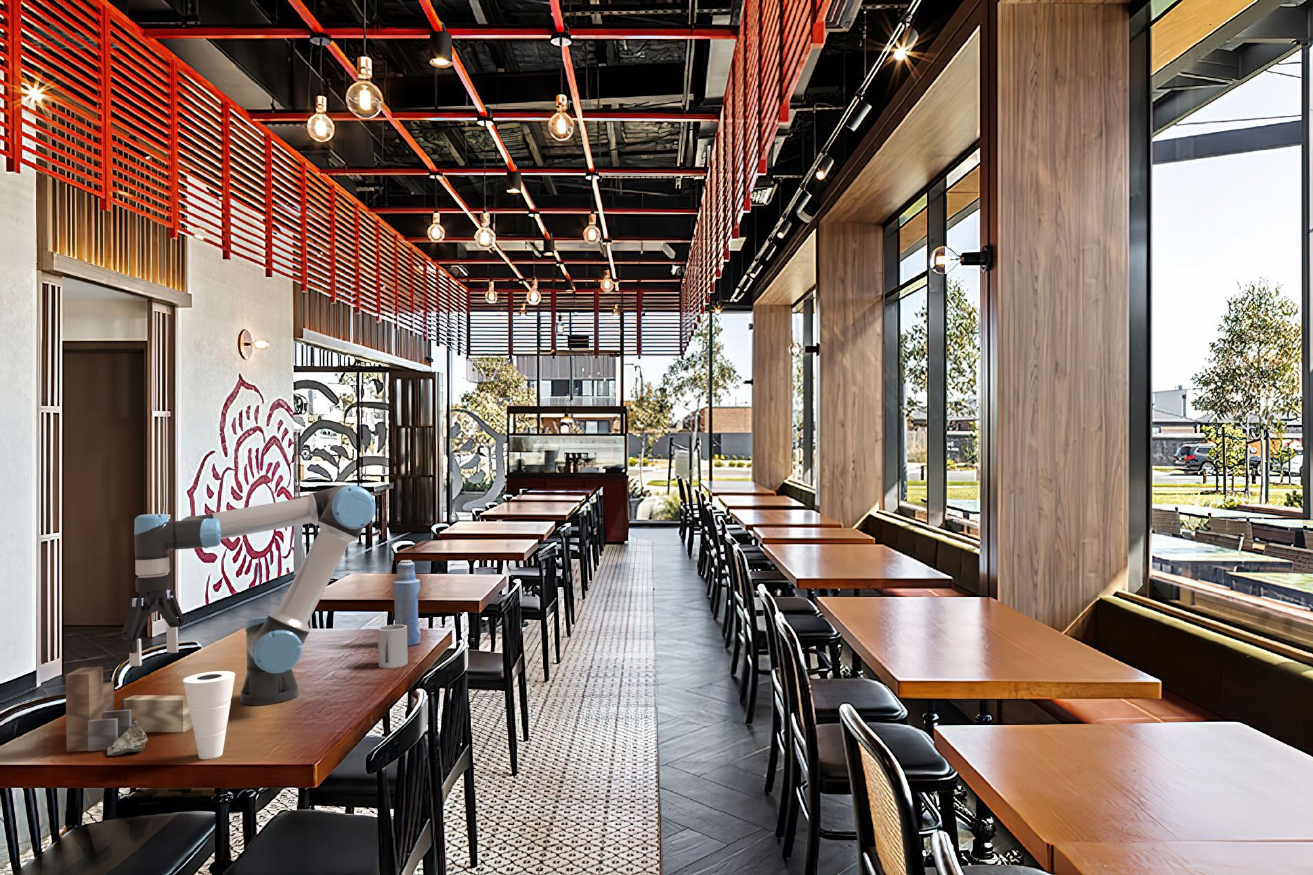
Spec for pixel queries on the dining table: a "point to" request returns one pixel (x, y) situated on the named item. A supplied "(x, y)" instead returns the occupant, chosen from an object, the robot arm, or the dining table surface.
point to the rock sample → (129, 741)
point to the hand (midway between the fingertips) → (154, 658)
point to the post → (92, 711)
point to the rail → (159, 712)
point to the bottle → (407, 600)
